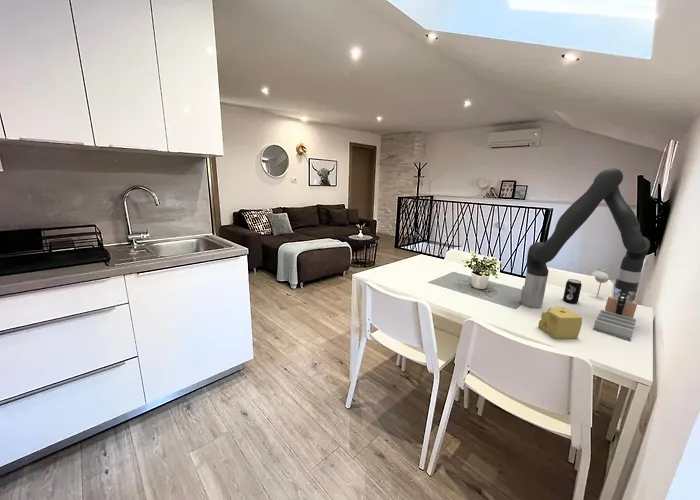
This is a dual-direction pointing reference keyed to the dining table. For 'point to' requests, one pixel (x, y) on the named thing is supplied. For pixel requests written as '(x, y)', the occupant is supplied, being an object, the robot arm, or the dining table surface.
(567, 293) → the beverage can
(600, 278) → the lollipop
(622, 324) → the dish rack
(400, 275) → the dining table surface
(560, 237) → the robot arm
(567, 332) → the cheese
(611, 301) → the peach wooden block
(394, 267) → the dining table surface
